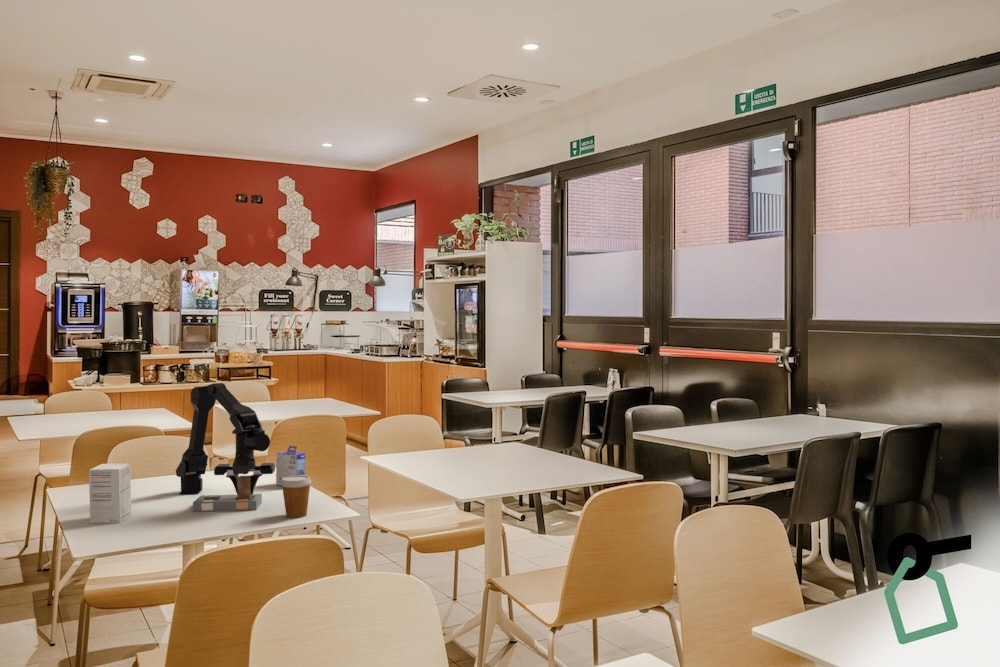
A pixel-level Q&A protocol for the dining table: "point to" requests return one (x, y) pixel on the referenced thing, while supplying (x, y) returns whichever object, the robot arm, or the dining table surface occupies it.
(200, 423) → the robot arm
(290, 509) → the disposable coffee cup
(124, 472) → the supplement box
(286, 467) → the ink cartridge box
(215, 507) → the socket board
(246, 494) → the walnut plug
